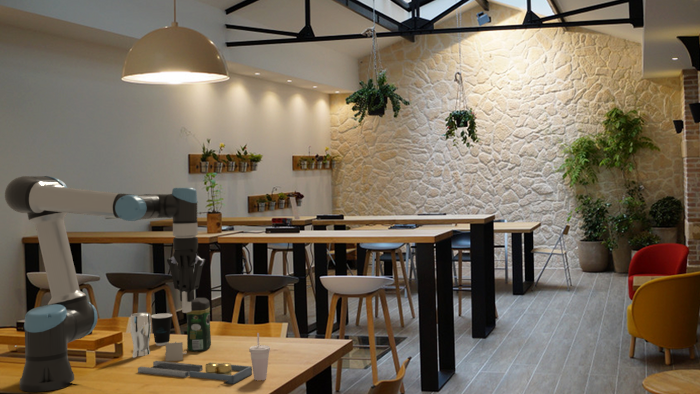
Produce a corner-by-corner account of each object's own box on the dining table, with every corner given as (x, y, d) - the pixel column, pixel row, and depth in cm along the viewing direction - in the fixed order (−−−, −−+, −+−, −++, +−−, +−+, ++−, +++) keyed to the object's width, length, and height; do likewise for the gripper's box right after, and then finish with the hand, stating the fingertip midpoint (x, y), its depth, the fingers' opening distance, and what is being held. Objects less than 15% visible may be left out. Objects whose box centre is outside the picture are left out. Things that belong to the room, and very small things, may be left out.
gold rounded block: (215, 379, 203) (215, 366, 203) (203, 378, 204) (203, 366, 204) (221, 376, 207) (220, 363, 207) (209, 375, 208) (209, 362, 208)
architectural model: (165, 362, 227) (165, 341, 227) (186, 361, 229) (186, 339, 228) (165, 365, 224) (165, 343, 224) (186, 364, 225) (186, 342, 225)
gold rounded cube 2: (229, 379, 203) (228, 366, 203) (216, 379, 203) (216, 366, 203) (233, 375, 207) (232, 363, 207) (220, 375, 207) (220, 362, 207)
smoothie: (260, 374, 209) (259, 330, 209) (275, 378, 205) (274, 332, 205) (245, 379, 204) (244, 334, 204) (259, 383, 200) (258, 336, 200)
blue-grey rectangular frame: (233, 384, 199) (233, 375, 199) (189, 379, 205) (189, 371, 205) (251, 374, 209) (251, 366, 209) (210, 370, 215) (209, 362, 215)
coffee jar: (192, 345, 250) (191, 296, 250) (213, 345, 249) (212, 296, 249) (184, 352, 240) (183, 300, 240) (205, 352, 240) (204, 300, 239)
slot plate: (185, 380, 204) (185, 372, 204) (138, 375, 211) (137, 367, 210) (202, 373, 212) (202, 365, 212) (156, 368, 219) (156, 360, 219)
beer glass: (154, 354, 238) (153, 312, 238) (147, 359, 231) (146, 316, 231) (136, 354, 238) (135, 312, 238) (127, 359, 232) (126, 316, 231)
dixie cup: (157, 347, 248) (156, 318, 247) (147, 344, 253) (147, 315, 253) (176, 344, 253) (176, 315, 253) (166, 340, 259) (166, 312, 259)
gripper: (210, 236, 209) (211, 311, 210) (175, 235, 214) (177, 308, 214) (195, 238, 202) (197, 315, 203) (160, 237, 207) (162, 312, 207)
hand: (186, 311), depth 208 cm, fingers closed
